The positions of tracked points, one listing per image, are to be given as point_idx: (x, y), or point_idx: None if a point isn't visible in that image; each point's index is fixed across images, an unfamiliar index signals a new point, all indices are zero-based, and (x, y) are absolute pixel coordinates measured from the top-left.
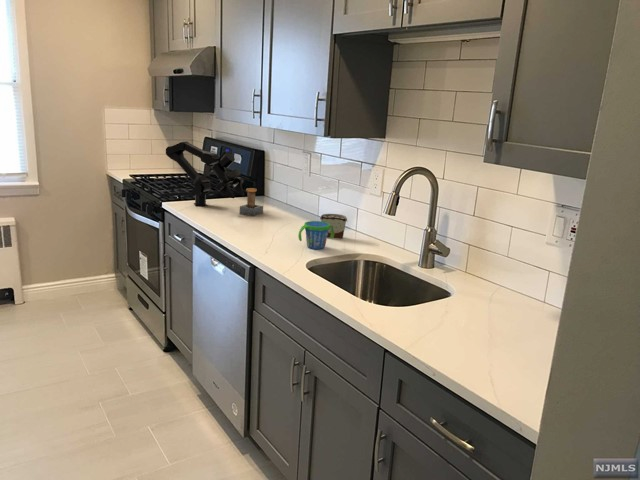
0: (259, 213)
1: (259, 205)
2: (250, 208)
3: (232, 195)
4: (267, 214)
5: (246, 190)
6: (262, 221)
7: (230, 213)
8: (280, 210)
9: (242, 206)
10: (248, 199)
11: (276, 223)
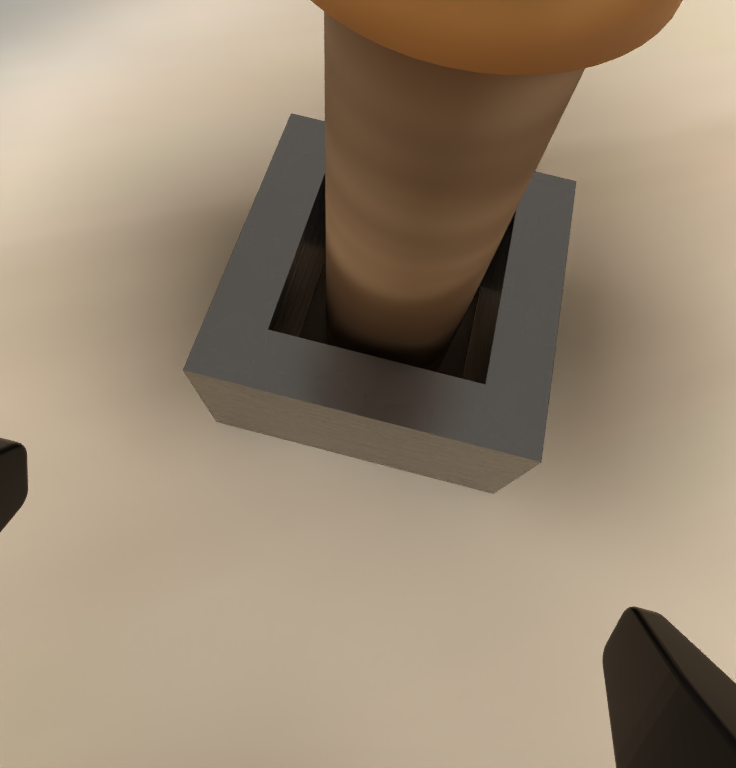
0: None
1: (277, 166)
2: (566, 249)
3: (731, 707)
4: None
5: (654, 20)
6: (720, 129)
7: (552, 659)
8: (18, 63)
9: (533, 403)
10: (512, 212)
11: (704, 15)
